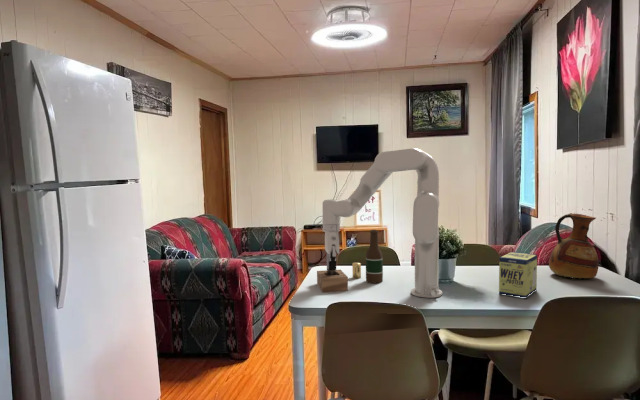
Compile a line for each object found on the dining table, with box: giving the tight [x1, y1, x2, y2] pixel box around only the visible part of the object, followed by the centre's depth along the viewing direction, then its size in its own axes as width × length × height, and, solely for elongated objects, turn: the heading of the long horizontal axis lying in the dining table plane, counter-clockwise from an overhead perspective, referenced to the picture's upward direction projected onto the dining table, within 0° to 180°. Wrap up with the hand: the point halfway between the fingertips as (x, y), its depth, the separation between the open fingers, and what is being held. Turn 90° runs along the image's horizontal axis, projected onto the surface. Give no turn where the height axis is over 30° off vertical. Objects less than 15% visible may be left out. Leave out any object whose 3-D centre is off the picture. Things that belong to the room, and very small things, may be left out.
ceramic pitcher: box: [548, 212, 599, 279], centre depth 200 cm, size 20×20×30 cm
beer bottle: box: [365, 229, 384, 284], centre depth 197 cm, size 8×8×24 cm
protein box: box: [498, 251, 538, 297], centre depth 176 cm, size 10×16×16 cm
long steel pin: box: [326, 251, 337, 276], centre depth 189 cm, size 4×4×14 cm
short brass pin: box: [351, 262, 362, 280], centre depth 206 cm, size 4×4×7 cm
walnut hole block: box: [316, 269, 349, 293], centre depth 189 cm, size 14×11×6 cm
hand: (331, 268), depth 189 cm, fingers closed on long steel pin, 4 cm apart
